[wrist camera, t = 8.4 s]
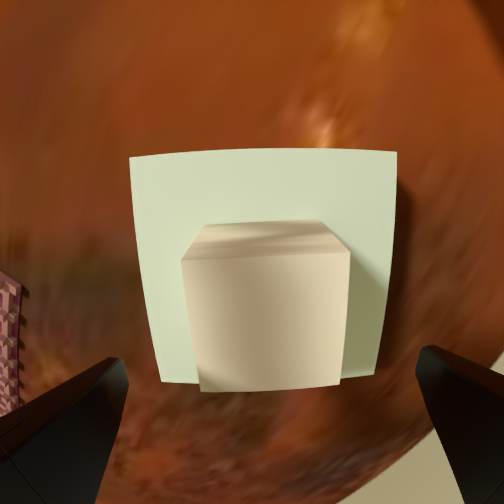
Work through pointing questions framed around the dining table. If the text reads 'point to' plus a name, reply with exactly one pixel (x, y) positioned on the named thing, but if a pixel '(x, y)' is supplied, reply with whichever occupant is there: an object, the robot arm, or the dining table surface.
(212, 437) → the dining table surface
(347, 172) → the sage block
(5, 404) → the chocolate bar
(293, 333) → the birch cube
